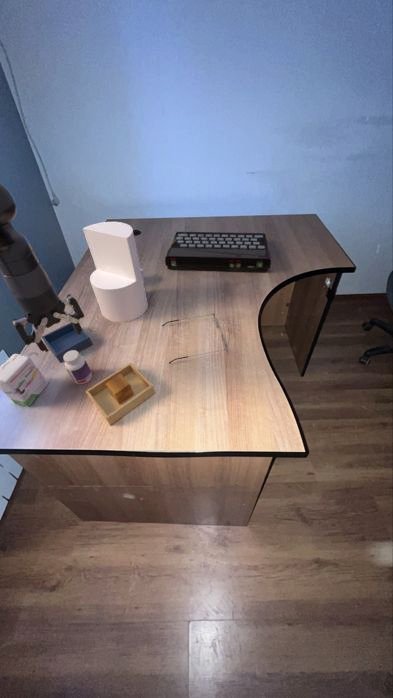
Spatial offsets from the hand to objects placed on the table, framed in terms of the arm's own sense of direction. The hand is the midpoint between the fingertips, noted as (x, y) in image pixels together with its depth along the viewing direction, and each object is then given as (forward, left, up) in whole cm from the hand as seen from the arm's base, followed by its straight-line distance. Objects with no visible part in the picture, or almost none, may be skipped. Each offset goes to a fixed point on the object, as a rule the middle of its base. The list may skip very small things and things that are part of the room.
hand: (62, 341), depth 67 cm
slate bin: (+3, +16, -15) cm, 22 cm away
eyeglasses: (+34, -11, -15) cm, 39 cm away
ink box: (-13, +5, -15) cm, 21 cm away
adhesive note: (+39, +31, -15) cm, 52 cm away
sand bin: (+5, -14, -15) cm, 21 cm away
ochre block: (+5, -14, -15) cm, 21 cm away
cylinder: (+27, +20, -15) cm, 37 cm away
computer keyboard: (+80, +22, -15) cm, 84 cm away
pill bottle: (0, 0, -15) cm, 15 cm away
